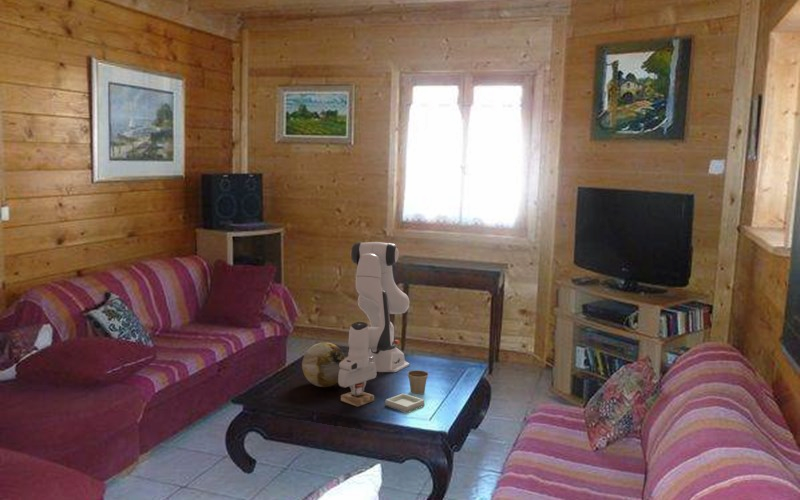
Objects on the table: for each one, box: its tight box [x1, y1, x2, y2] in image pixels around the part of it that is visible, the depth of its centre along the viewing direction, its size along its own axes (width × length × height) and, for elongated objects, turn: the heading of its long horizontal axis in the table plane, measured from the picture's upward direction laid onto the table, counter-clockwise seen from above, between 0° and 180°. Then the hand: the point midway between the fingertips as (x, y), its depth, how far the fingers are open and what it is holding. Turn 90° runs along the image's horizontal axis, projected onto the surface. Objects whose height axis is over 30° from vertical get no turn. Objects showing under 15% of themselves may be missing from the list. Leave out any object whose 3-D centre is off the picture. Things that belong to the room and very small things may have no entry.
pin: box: [354, 383, 363, 398], centre depth 288 cm, size 4×4×8 cm
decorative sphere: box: [301, 341, 346, 388], centre depth 305 cm, size 20×20×20 cm
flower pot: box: [407, 369, 429, 395], centre depth 302 cm, size 9×9×9 cm
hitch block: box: [340, 391, 375, 407], centre depth 289 cm, size 10×10×2 cm
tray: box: [384, 393, 425, 413], centre depth 285 cm, size 12×12×2 cm
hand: (357, 392), depth 288 cm, fingers closed on pin, 3 cm apart
